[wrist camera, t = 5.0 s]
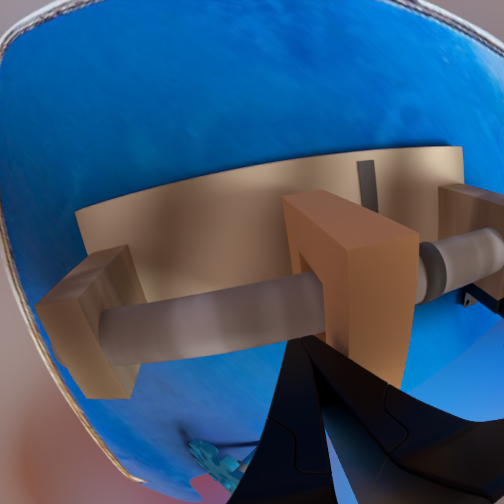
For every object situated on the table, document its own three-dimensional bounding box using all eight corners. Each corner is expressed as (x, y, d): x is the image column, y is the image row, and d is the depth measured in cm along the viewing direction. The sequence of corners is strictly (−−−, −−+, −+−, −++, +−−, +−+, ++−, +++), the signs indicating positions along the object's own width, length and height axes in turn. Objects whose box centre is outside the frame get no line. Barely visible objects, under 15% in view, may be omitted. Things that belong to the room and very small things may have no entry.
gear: (174, 430, 19) (274, 507, 13) (224, 391, 23) (321, 452, 17) (192, 470, 24) (263, 523, 18) (228, 440, 28) (298, 486, 22)
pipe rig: (452, 145, 15) (534, 156, 8) (450, 277, 18) (512, 322, 12) (82, 208, 14) (4, 249, 8) (135, 349, 18) (106, 431, 11)
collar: (322, 189, 13) (419, 233, 6) (332, 314, 16) (393, 414, 8) (281, 196, 13) (347, 249, 6) (298, 322, 15) (343, 432, 8)
